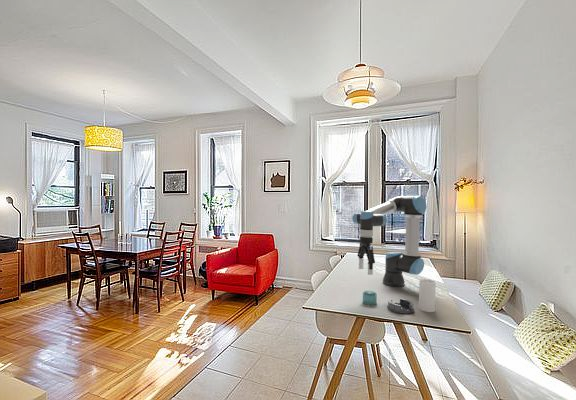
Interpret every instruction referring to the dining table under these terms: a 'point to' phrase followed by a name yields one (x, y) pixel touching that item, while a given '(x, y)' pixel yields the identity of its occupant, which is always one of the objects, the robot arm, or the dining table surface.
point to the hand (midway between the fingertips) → (365, 271)
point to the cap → (369, 297)
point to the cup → (427, 295)
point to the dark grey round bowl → (401, 306)
